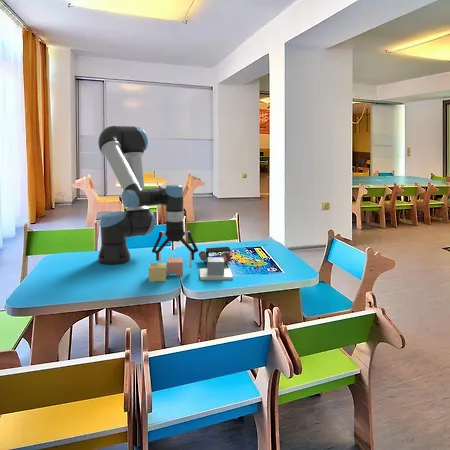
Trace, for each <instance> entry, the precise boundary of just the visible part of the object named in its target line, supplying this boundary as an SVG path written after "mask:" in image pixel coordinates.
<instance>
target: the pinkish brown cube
mask: <svg viewBox="0 0 450 450" xmlns="http://www.w3.org/2000/svg"><path fill="white" fill-rule="evenodd" d="M183 262H184V258H183V257H167V258H166V276H171V275H170V274H176V275H175V276H183V275H184V273H183V272H184V267H183V266H184V263H183Z"/></svg>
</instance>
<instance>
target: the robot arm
mask: <svg viewBox="0 0 450 450" xmlns="http://www.w3.org/2000/svg"><path fill="white" fill-rule="evenodd" d="M148 141H149V140H148V136H147V133H146V131H145V130H144V129H143V128H141V127H138V126H133V125H132V126H131V125H130V126H126V125H125V126H122V125H121V126H120V125H110V126H107V127H105V128H104V129H103V130H102V131H101V133H100V134H99V136H98V141H97V143H98V144H97V145H98V148H99V152H100V153H101V154H102V155H101V156H104V157H105V158H106V159H107V163H109V165H110V168H111V170H112V171H113V173H114V175H115V177H116V180H117V182H118V183H119V185H120V187H121V189H122V193H121V201H122V202H121V203H122V204H123V206H124V207H125V208H126V209H125V211H120V210H118V211H115V210H114V211H110V212H106V213H104V214H102V216H101V217H100V238H101V239H100V241H101V246H100V249H99V253H98V257H97V258H98V259H97V261H98V263H101V264H103V265H119V264H120V265H121V264H125V263H128V262H129V261H131V253H130V251H129V247H128V246H127V245H128V244H127V238H132V237H133V238H134V237H141V236H145V235H150V234H151V233H153V232H154V229H155V226H156V216H155V214H154V213H153V211H151V210H150V207H151V206H152V207H153V206H165V220H166V221H165V222H166V223H165V229H166V231H162V230H160V231H158V237H157V240H156V241H155V243H154V246H153V247H152V250H151V253H154V254H155V255H156V256H155V261H158V263H162V253H161V251H162V250H164V248H165V247H166V245H167V244H168V243H169V242H170V243H174V242H177V243H179V242H181V243H182V244H183V245H184V246H185V247H186V248H187V250H188V251H190V252H189V268H190V269H192V267H193V266H192V263H193V262H192V261H194V260H195V253H199V249H198V246H197V244H196V241H194V239H193V237H192V234H191V230H187V231H184V227H185V226H184V221H183V220H184V188H183V185H180V184H167V185H166V186H165V188H164V187H161V186H158V187H154V188H145V181H144V179H145V178H144V170H143V169H144V168H143V160H142V157H143V156H144V155H145V151H146V150H147V149H148V144H149V143H148ZM149 206H150V207H149ZM164 236H165V237H166V239H165V240H164V241H163V242H162V244H161V245H160V246H159V243H160V242H161V240H162V238H163V237H164ZM185 236H186V237H187V238H188V239H189V241H190V244H191V245H192V246H191V245H190V244H189V243H188V242H187V240H185V238H184V237H185ZM158 246H159V247H158Z"/></svg>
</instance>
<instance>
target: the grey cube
mask: <svg viewBox="0 0 450 450" xmlns="http://www.w3.org/2000/svg"><path fill="white" fill-rule="evenodd" d="M206 261H207V262H206V263H207V264H206V266H207V267H206V268H207V271H208V275H224V268H225V263H224V259H223V257H221V256H220V257H207V260H206Z"/></svg>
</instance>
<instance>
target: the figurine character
mask: <svg viewBox="0 0 450 450" xmlns="http://www.w3.org/2000/svg"><path fill="white" fill-rule="evenodd" d="M231 251H232V250H231V249H230V247H229V246H220V247H219V246H217V247H207V248H205V250H201V251H198V257H199V259H200V260H201V262H202V261H203V264H204V265H207V257H223V259H224V264H225V263H228V262H230V261H231V254H230V252H231ZM214 253H221V254H217V255H210V256H209V254H214Z"/></svg>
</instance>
